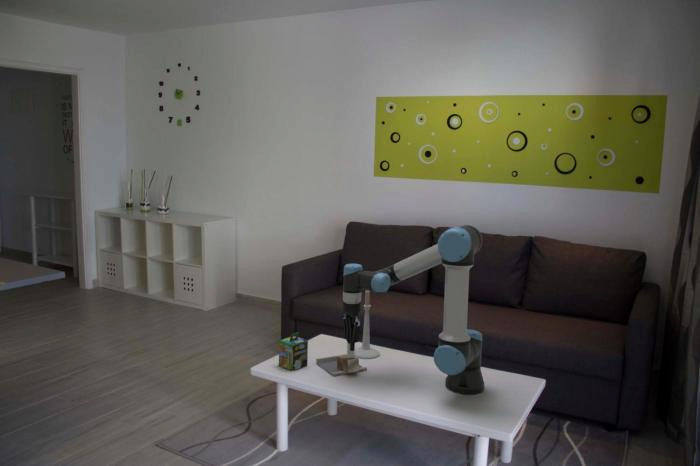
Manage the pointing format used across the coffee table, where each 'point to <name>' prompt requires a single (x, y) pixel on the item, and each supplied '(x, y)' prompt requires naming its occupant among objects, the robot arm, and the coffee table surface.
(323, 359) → the grey flat square piece
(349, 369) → the block
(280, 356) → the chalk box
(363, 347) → the candlestick
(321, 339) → the coffee table surface
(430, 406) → the coffee table surface
